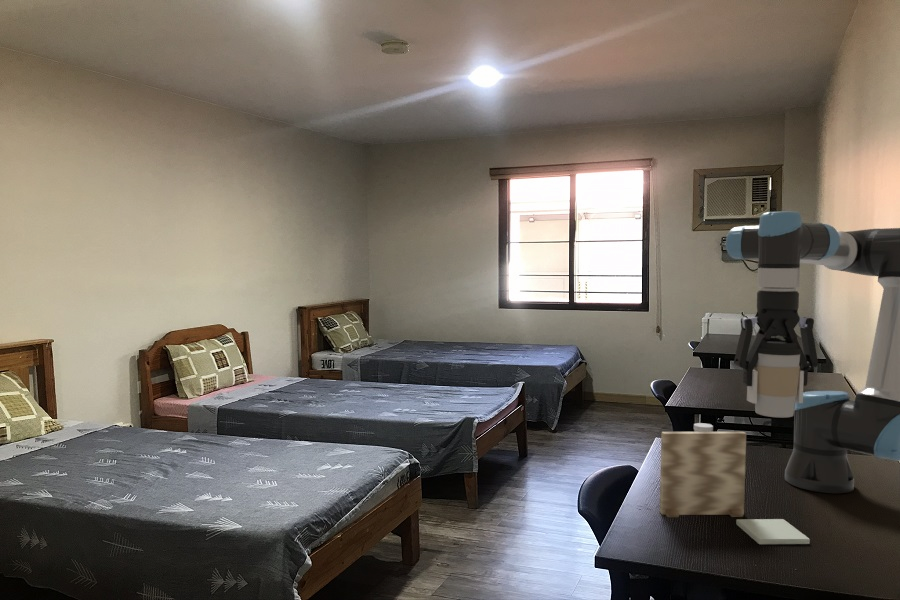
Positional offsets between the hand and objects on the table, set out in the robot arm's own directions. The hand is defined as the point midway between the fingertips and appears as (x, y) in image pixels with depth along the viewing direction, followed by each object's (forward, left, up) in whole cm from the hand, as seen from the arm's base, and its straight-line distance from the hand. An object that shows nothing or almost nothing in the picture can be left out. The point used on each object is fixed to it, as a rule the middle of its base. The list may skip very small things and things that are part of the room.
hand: (774, 401), depth 135 cm
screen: (+10, -11, -27) cm, 31 cm away
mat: (0, 0, -27) cm, 27 cm away
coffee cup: (0, 0, -3) cm, 3 cm away
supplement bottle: (-1, -38, -27) cm, 47 cm away
